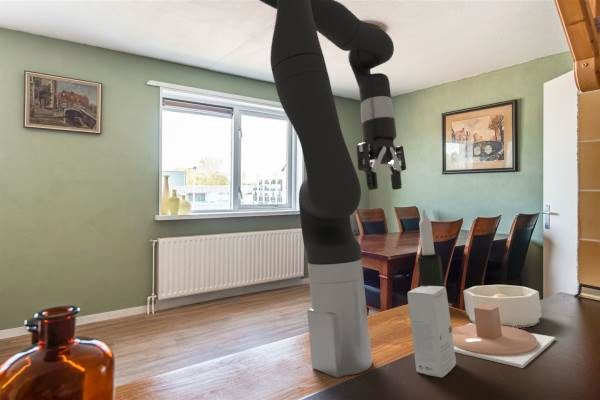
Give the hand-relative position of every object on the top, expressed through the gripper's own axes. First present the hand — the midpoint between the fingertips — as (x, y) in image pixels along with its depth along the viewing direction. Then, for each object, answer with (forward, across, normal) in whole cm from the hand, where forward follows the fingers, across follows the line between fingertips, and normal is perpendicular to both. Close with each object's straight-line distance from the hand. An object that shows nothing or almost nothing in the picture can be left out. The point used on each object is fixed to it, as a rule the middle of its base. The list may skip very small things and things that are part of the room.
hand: (385, 189), depth 80 cm
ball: (+27, +14, -16) cm, 34 cm away
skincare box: (+30, -16, -18) cm, 39 cm away
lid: (+30, -1, -20) cm, 36 cm away
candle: (+30, +16, +1) cm, 34 cm away
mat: (+30, -1, -20) cm, 36 cm away
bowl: (+30, +14, -16) cm, 37 cm away
